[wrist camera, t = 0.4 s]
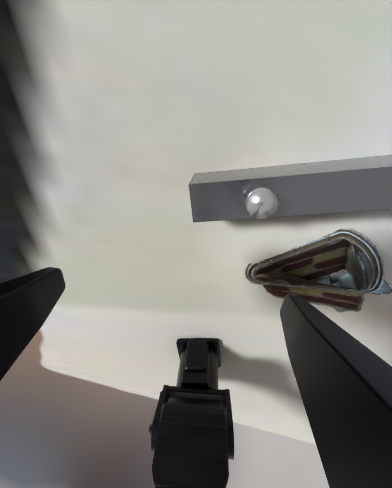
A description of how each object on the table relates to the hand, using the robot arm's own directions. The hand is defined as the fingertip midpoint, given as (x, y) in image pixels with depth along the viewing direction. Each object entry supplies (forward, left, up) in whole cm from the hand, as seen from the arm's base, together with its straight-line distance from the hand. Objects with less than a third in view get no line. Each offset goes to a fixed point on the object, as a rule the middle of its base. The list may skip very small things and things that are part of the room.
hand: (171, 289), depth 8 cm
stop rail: (+1, -13, -14) cm, 19 cm away
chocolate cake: (-10, -12, -14) cm, 21 cm away
